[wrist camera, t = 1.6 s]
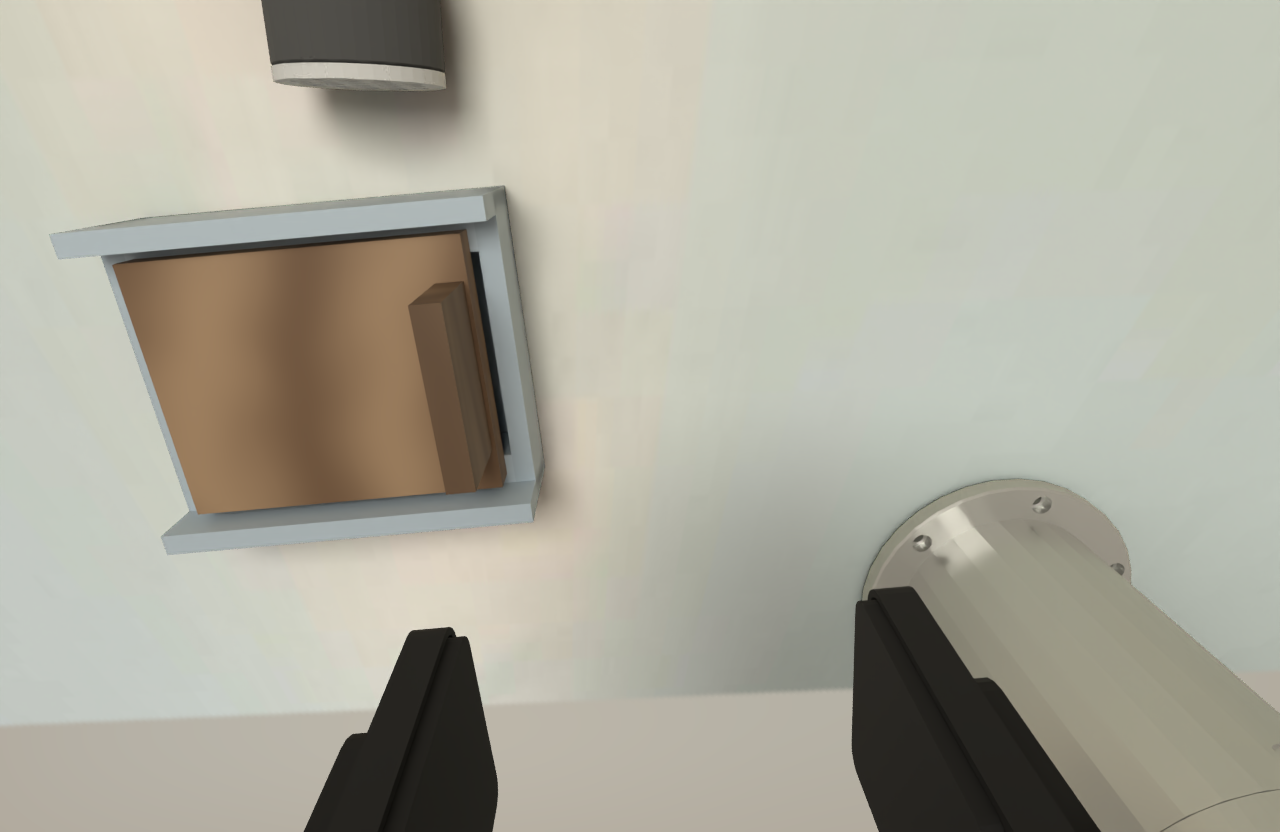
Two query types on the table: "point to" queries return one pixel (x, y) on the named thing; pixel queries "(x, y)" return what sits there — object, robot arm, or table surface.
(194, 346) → the cover plate
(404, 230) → the light grey open box
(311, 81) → the flashlight
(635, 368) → the table surface
